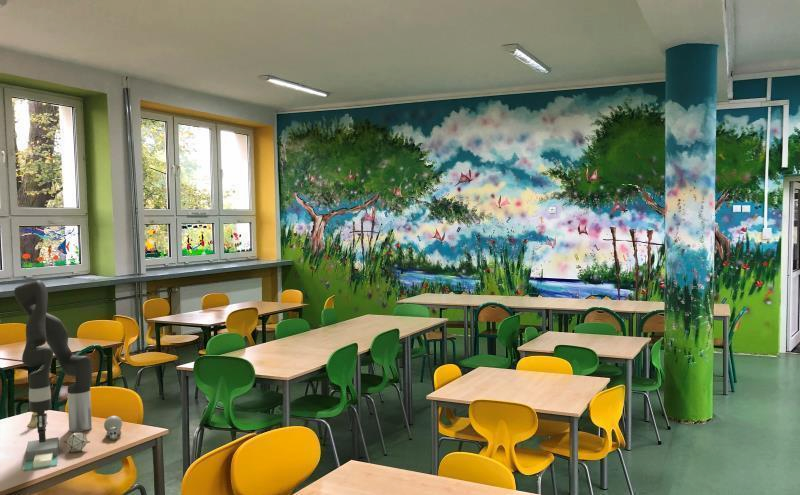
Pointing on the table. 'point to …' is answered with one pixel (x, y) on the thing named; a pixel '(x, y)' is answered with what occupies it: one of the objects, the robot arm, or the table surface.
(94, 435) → the table surface
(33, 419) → the hand bell
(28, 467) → the teal mat
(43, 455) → the ivory tile
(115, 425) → the round bodied animal figurine
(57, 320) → the robot arm
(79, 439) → the game die
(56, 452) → the gray board
